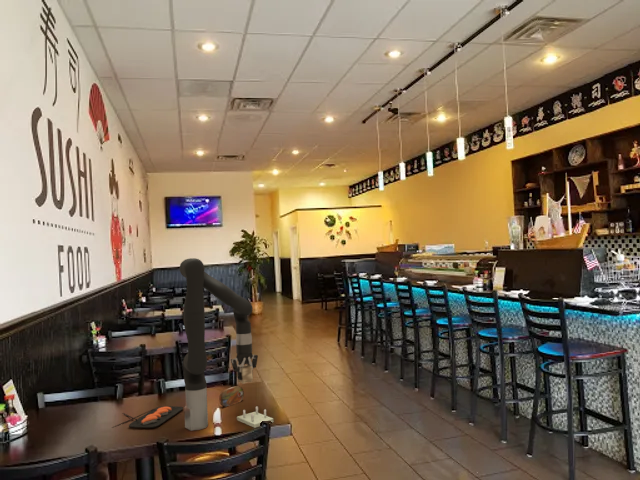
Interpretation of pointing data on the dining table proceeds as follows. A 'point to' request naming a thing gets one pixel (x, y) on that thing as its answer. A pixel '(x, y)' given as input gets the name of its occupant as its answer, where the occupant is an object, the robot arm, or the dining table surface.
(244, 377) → the maple block
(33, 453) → the dining table surface
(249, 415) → the plate
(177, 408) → the sushi plate
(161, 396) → the dining table surface
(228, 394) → the tin
